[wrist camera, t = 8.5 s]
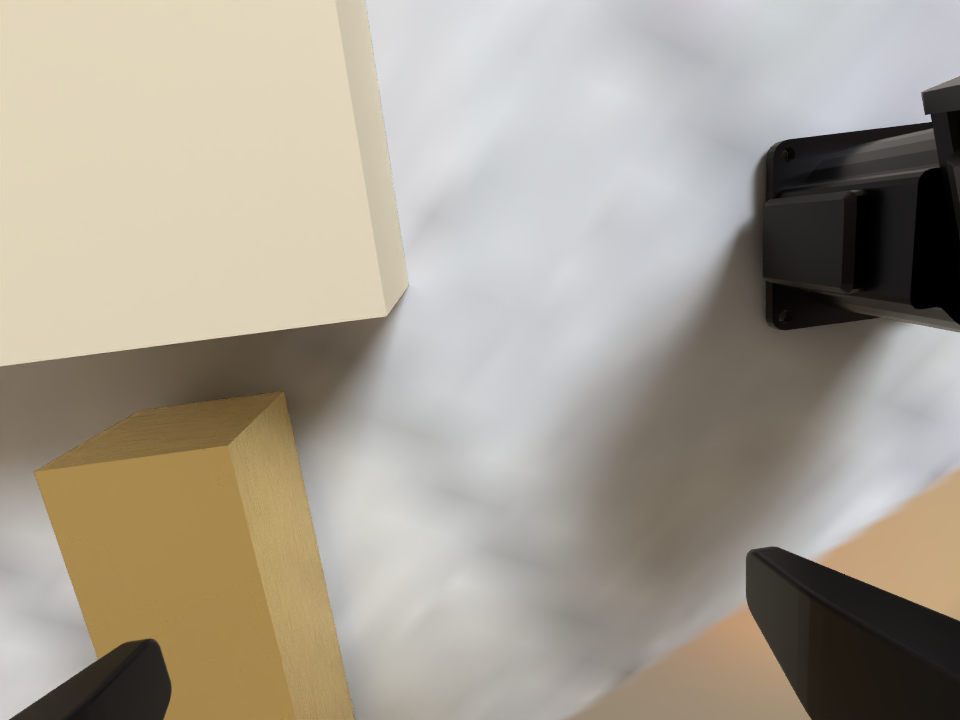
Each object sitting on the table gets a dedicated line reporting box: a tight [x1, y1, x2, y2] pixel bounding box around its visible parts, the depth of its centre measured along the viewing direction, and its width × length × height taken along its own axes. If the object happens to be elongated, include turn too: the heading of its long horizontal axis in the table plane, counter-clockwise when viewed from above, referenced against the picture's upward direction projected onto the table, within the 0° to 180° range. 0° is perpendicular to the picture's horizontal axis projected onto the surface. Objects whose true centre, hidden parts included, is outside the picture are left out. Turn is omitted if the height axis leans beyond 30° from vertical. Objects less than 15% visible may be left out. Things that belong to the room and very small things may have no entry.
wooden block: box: [34, 391, 355, 720], centre depth 18 cm, size 6×17×6 cm, turn 7°
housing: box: [0, 0, 409, 366], centre depth 14 cm, size 14×10×7 cm
